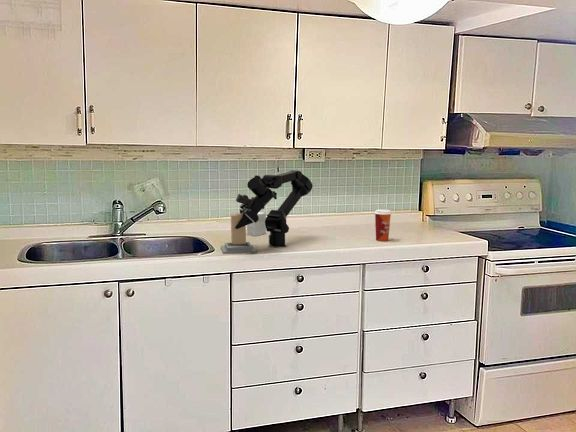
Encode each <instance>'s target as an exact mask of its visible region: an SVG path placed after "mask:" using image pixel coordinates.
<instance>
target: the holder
mask: <svg viewBox="0 0 576 432" xmlns="http://www.w3.org/2000/svg"><path fill="white" fill-rule="evenodd" d="M220 251H221V252H222V254H223V255H227V254H251V253H252V254H257V253H258V250H257V249H256V247H255V246H254V244H251V243H250V241H246V244H232V242H224V245H220Z"/></svg>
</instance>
